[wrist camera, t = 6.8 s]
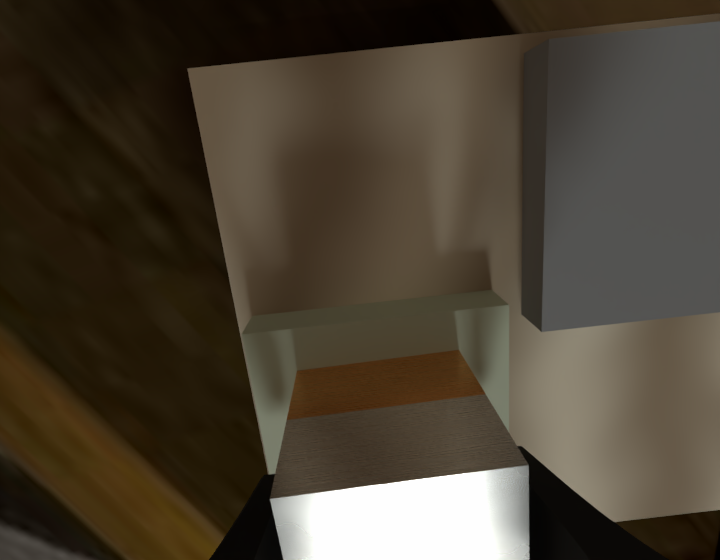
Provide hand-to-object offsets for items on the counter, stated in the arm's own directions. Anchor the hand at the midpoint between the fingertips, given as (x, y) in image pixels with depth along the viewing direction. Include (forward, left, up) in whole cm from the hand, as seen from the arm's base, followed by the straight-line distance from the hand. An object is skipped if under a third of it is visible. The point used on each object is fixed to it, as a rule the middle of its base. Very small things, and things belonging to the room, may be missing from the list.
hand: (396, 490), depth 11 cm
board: (-4, -3, -5) cm, 7 cm away
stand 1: (0, 0, -5) cm, 5 cm away
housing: (0, 0, -2) cm, 2 cm away
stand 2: (-9, -7, -5) cm, 12 cm away
